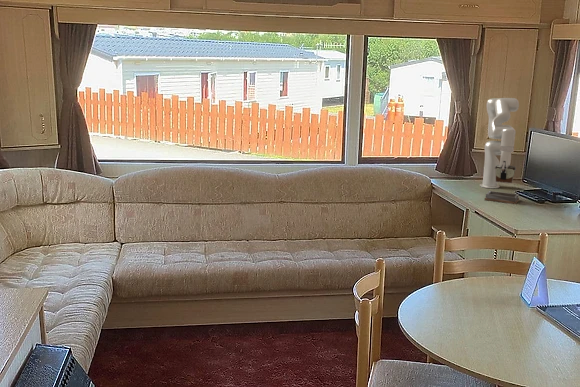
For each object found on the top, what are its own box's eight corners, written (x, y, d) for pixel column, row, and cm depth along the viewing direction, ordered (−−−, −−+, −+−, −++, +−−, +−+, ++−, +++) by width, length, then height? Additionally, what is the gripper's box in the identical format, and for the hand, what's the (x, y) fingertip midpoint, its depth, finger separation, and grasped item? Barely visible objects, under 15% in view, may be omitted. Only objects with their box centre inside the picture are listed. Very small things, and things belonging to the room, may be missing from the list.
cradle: (488, 196, 355) (489, 190, 354) (518, 199, 347) (519, 194, 346) (484, 200, 344) (485, 194, 343) (515, 204, 336) (516, 198, 335)
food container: (514, 181, 344) (516, 165, 342) (514, 183, 339) (516, 167, 336) (493, 180, 348) (494, 164, 346) (493, 181, 343) (494, 165, 340)
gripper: (502, 147, 348) (500, 175, 351) (497, 150, 333) (494, 180, 337) (515, 148, 344) (512, 177, 348) (511, 151, 329) (508, 181, 333)
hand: (504, 178), depth 342 cm, fingers closed on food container, 5 cm apart
